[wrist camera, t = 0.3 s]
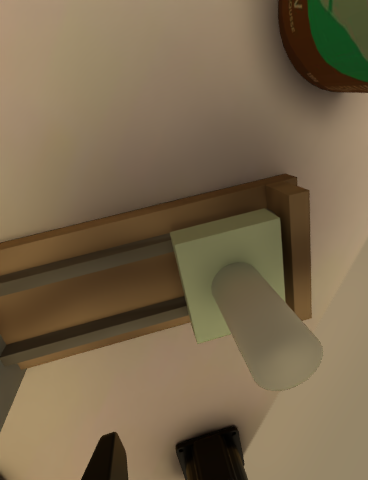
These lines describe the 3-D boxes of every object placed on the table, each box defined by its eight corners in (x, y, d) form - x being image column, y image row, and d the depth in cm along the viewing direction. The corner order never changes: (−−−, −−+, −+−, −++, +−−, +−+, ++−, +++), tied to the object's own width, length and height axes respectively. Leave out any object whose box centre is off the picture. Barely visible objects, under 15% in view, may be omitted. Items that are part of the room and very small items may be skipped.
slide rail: (290, 281, 24) (325, 314, 19) (21, 356, 22) (-4, 410, 18) (285, 173, 20) (326, 186, 16) (-39, 252, 18) (-88, 289, 14)
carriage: (272, 300, 20) (352, 399, 13) (191, 323, 20) (227, 440, 12) (264, 208, 17) (361, 268, 10) (169, 232, 17) (200, 313, 10)
